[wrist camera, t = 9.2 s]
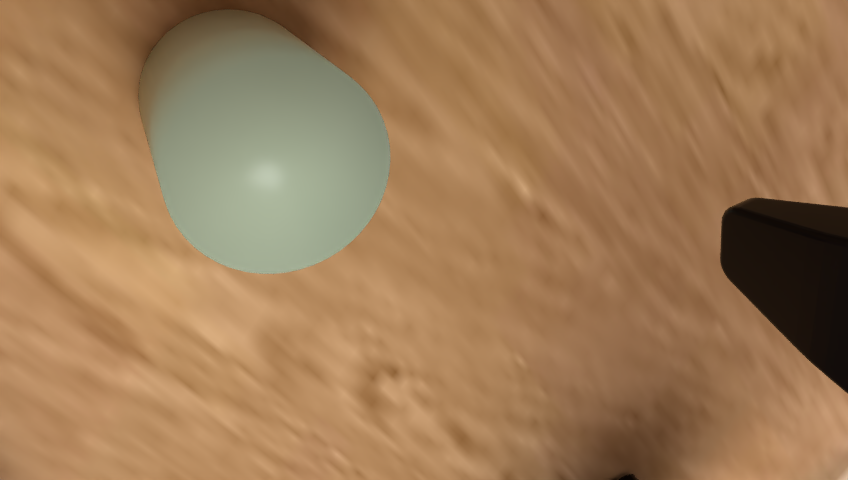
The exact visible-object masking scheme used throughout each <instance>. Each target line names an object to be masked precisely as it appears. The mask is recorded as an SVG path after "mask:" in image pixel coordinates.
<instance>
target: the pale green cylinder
mask: <svg viewBox="0 0 848 480" xmlns="http://www.w3.org/2000/svg"><path fill="white" fill-rule="evenodd" d="M138 100H139V110H140V115H141V119H142V123H143V127H144V130H145V134H146V137H147V141H148V144H149V148H150V151H151V155H152V158H153V162H154V165H155V169H156V172H157V176H158V180H159V183H160V187H161V190H162V194H163V197H164V201H165V203H166V206H167V209H168V211H169V214H170V216H171V218H172V219H173V221H174V223H175V225H176V227H177V228H178V229H179V231H180V232H181V233H182V234H183V236H184V237H185V238H186V239H187V240H188V241H189V242H190V243H191V244H192V245H193V246H194V247H195V248H196V249H197V250H199V251H200V252H201V253H203V254H204V255H205V256H207V257H209V258H210V259H212V260H214V261H216V262H218V263H220V264H222V265H225V266H227V267H230V268H233V269H237V270H240V271H244V272H251V273H259V274H276V273H285V272H291V271H295V270H300V269H303V268H306V267H309V266H312V265H315V264H317V263H319V262H321V261H323V260H325V259H327V258H329V257H331V256H332V255H334V254H336V253H337V252H339V251H340V250H341V249H343V248H344V247H345V246H347V245H348V244H349V243H350V242H351V241H352V240H353V239H354V238H355V237H356V236H357V235H359V234H360V232H361V231H362V230H363V229H364V227H365V226H366V225H367V224H368V223H369V221H370V219H371V218H372V216H373V215H374V213H375V212H376V210H377V208H378V206H379V204H380V202H381V200H382V197H383V194H384V191H385V188H386V185H387V181H388V176H389V169H390V145H389V139H388V133H387V130H386V127H385V124H384V121H383V119H382V116H381V114H380V112H379V110H378V108H377V106H376V105H375V103H374V102H373V100H372V99H371V97H370V96H369V95H368V94H367V93H366V91H365V90H364V89H363V88H362V87H361V86H360V85H359V84H358V83H357V82H355V81H354V80H353V79H352V78H351V77H350V76H348V75H347V74H346V73H344V72H343V71H342V70H340V69H339V68H338V67H336V66H335V65H334V64H332V63H331V62H330V61H328V60H327V59H326V58H324V57H323V56H321V55H320V54H319V53H317V52H316V51H315V50H313V49H312V48H311V47H309V46H308V45H307V44H305V43H304V42H303V41H301V40H300V39H299V38H297V37H296V36H295V35H293V34H292V33H291V32H289V31H288V30H287V29H285V28H284V27H282V26H281V25H279V24H278V23H276V22H275V21H273V20H271V19H269V18H267V17H264V16H262V15H259V14H256V13H253V12H248V11H243V10H232V9H223V10H213V11H209V12H204V13H201V14H198V15H195V16H193V17H190V18H188V19H186V20H184V21H183V22H181V23H179V24H177V25H176V26H175V27H173V28H172V29H171V30H169V31H168V32H167V33H166V34H165V35H164V36H163V37H162V38H161V39H160V40H159V41H158V43H157V44H156V45H155V47H154V48H153V49H152V51H151V53H150V55H149V56H148V58H147V60H146V62H145V65H144V68H143V70H142V73H141V78H140V82H139V93H138Z"/></svg>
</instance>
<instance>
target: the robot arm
mask: <svg viewBox="0 0 848 480" xmlns="http://www.w3.org/2000/svg"><path fill="white" fill-rule="evenodd" d="M720 262H721V266H722V269H723V271H724V273H725V275H726V276H727V278H728V279H729V280H730V281H731V282H732V283H733V284H734V285H735V286H736V287H737V288H738V289H739V290H740V291H741V292H742V293H743V294H744V295H745V296H746V297H747V298H748V299H749V300H750V301H751V302H752V303H753V304H754V305H755V307H756V308H757V309H758V310H759V311H760V312H761V313H762V314H763V315H764V316H765V317H766V318H767V319H768V320H769V321H770V322H771V323H772V324H773V325H774V326H775V327H776V328H777V329H778V330H779V331H780V332H781V333H782V334H783V335H784V336H785V337H786V338H787V339H788V340H789V341H790V342H791V343H792V344H793V345H794V346H795V347H796V348H797V349H798V350H799V351H800V352H801V353H802V354H803V355H804V356H805V357H806V358H807V359H808V360H809V361H810V362H811V363H813V364H814V365H815V366H816V367H817V368H818V369H819V370H821V371H822V372H823V373H824V374H825V375H826V376H827V377H829V378H830V379H831V380H832V381H833V382H835V383H836V384H837V385H838V386H839V387H841V388H842V389H843V390H844V391H845V392H846V393H848V208H847V207H838V206H829V205H820V204H810V203H801V202H792V201H783V200H774V199H765V198H750V199H747V200H745V201H743V202H741V203H738V204H736V205H734V206H732V207H730V208H728V209H727V210H726V211H725V213H724V215H723V217H722V226H721V253H720ZM619 480H638V479H637V478H636V477H635V476H634V475H633V474H629V475H627V476H625V477H623V478H621V479H619Z"/></svg>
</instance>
